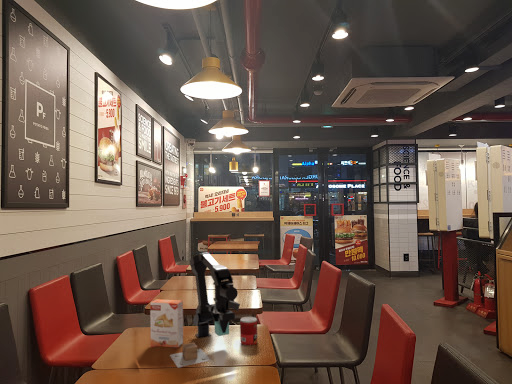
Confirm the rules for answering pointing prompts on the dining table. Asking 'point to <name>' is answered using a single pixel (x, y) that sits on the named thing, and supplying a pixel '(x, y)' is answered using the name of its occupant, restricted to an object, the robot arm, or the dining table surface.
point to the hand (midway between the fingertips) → (221, 330)
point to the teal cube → (219, 330)
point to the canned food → (248, 330)
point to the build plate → (181, 361)
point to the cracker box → (166, 323)
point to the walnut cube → (189, 351)
